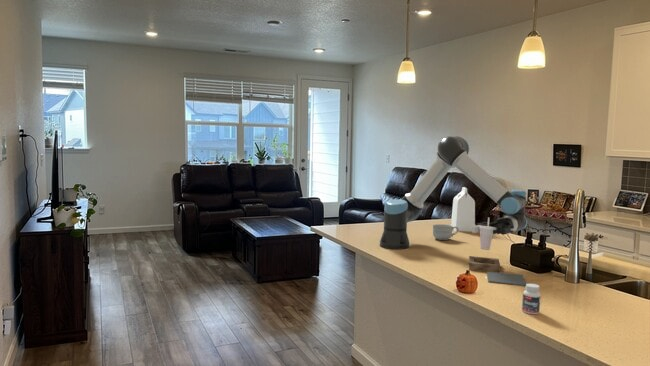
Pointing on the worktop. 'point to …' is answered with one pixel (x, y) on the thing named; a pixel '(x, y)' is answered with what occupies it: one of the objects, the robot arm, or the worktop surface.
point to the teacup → (443, 231)
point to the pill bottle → (531, 299)
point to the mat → (506, 278)
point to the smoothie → (485, 237)
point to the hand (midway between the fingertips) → (480, 231)
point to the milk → (463, 211)
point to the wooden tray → (484, 264)
